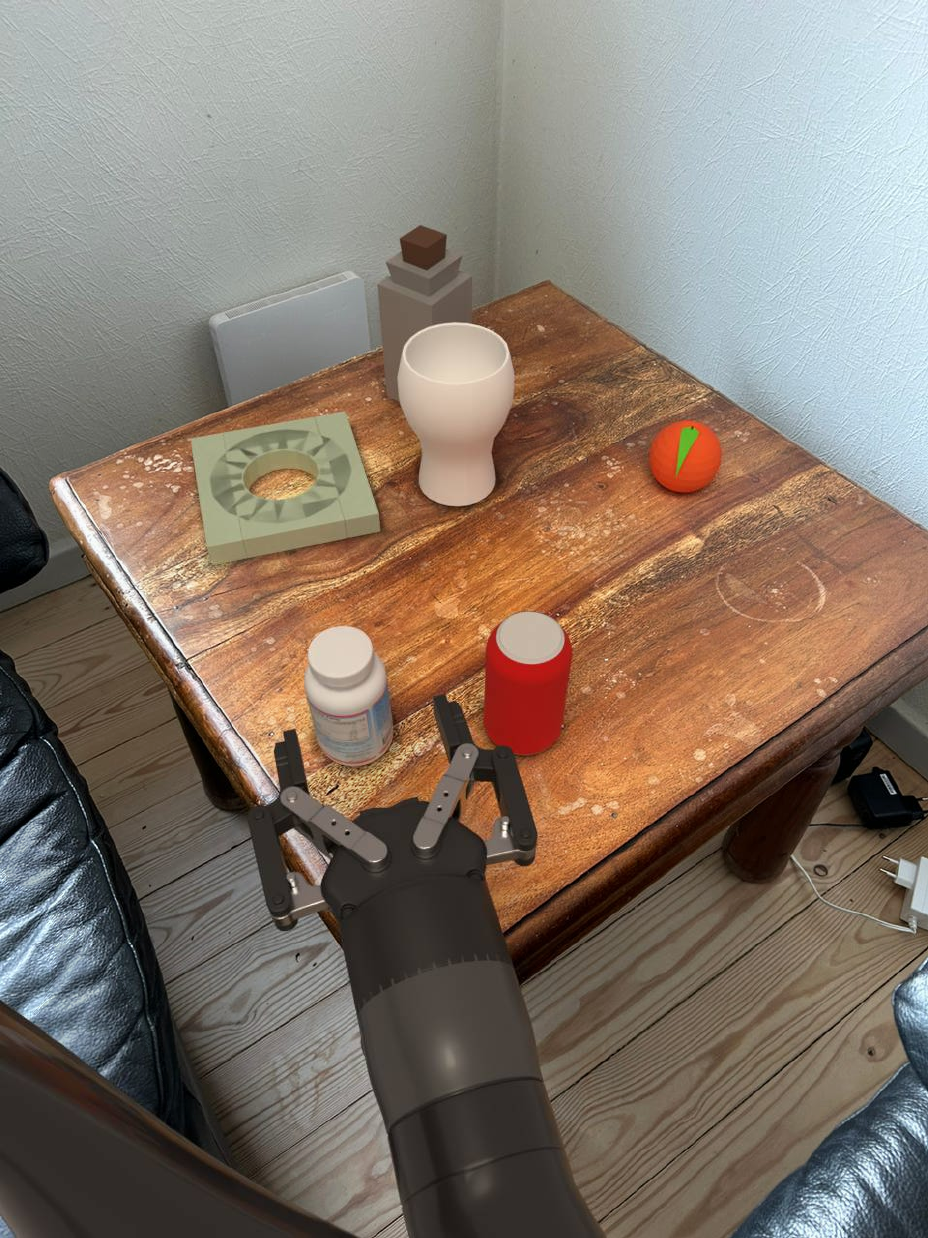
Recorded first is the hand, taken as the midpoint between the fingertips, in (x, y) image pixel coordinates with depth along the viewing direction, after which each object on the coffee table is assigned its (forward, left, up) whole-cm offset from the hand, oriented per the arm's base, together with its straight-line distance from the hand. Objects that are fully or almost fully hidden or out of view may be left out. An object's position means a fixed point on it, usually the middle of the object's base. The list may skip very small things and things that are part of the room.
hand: (365, 719), depth 52 cm
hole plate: (-1, +41, -19) cm, 45 cm away
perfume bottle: (+17, +53, -19) cm, 59 cm away
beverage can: (+13, +8, -19) cm, 24 cm away
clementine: (+37, +31, -19) cm, 52 cm away
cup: (+16, +38, -19) cm, 45 cm away
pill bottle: (0, +11, -19) cm, 22 cm away
